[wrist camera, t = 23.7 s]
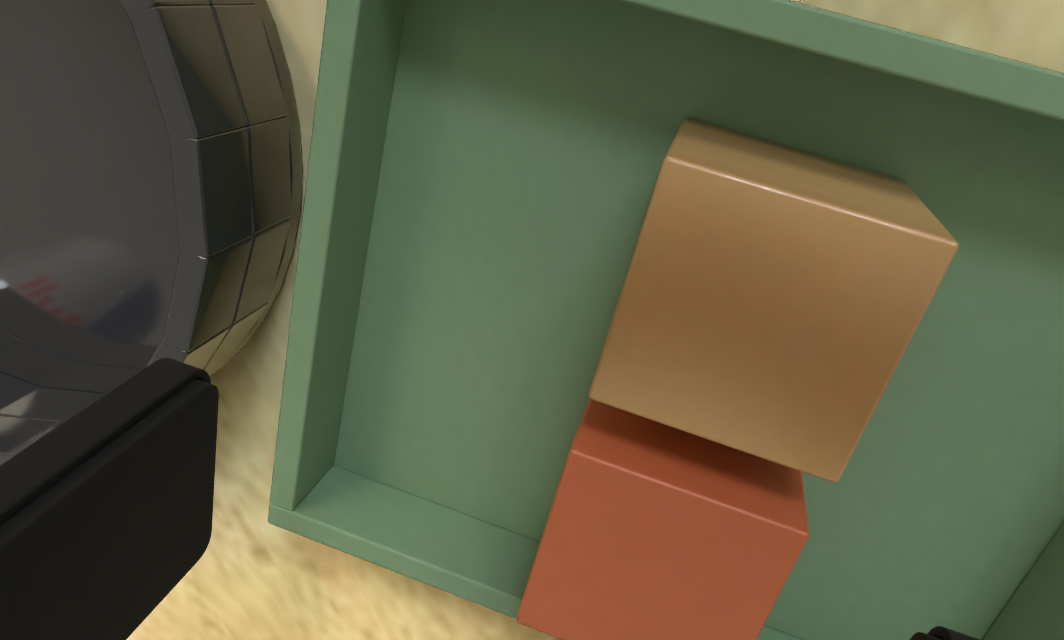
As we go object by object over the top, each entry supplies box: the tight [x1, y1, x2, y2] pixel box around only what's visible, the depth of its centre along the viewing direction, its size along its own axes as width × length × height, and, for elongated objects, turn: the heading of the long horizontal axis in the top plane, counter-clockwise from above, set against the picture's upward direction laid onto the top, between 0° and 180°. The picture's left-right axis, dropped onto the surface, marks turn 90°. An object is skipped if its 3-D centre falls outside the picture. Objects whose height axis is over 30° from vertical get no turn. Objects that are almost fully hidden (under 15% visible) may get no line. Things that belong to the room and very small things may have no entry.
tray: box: [268, 0, 1064, 640], centre depth 15 cm, size 13×16×2 cm
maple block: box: [589, 117, 959, 483], centre depth 13 cm, size 4×4×4 cm
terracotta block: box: [517, 398, 809, 640], centre depth 15 cm, size 4×4×4 cm
